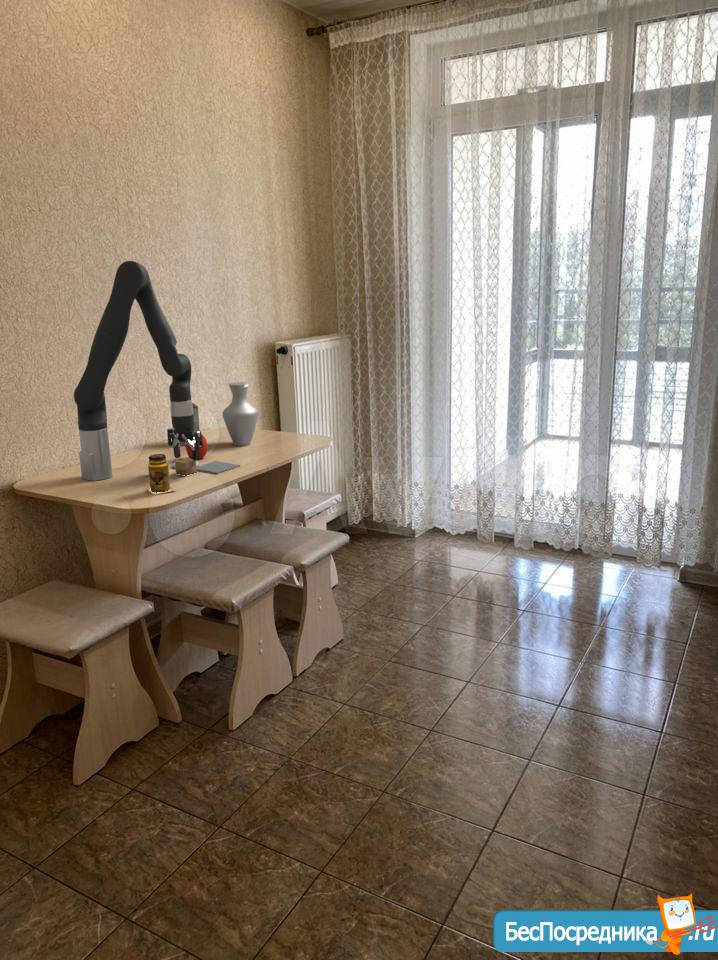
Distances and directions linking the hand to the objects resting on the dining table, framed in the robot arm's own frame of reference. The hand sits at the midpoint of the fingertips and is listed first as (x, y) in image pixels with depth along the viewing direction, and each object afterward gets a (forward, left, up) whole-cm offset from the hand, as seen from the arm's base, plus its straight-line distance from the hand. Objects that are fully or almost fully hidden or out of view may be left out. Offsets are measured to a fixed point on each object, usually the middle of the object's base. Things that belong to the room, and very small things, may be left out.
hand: (186, 458), depth 249 cm
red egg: (+17, +12, -6) cm, 22 cm away
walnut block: (-1, 0, -5) cm, 5 cm away
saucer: (+7, +8, -5) cm, 12 cm away
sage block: (-7, +7, -5) cm, 11 cm away
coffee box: (+35, +33, -6) cm, 49 cm away
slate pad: (+10, -4, -5) cm, 12 cm away
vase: (+44, +13, -6) cm, 47 cm away
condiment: (-20, -7, -6) cm, 22 cm away
